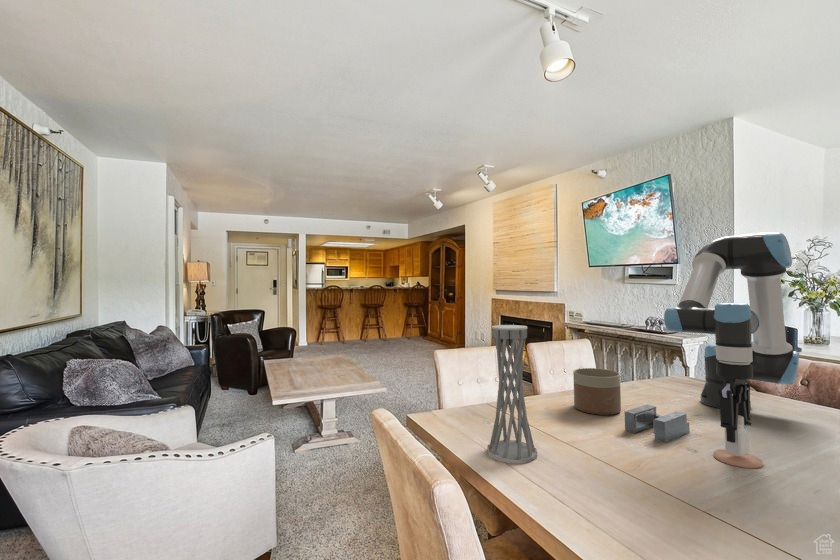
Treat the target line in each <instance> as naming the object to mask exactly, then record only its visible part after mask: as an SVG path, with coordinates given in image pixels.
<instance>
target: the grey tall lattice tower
mask: <svg viewBox="0 0 840 560" xmlns="http://www.w3.org/2000/svg"><path fill="white" fill-rule="evenodd" d="M491 337H492V338H493V340H494V343H495V349H496V358H497V369H498V390H497V399H496V410H495V411H496V412H495V418H494V423H493V428H492V432H491V438H490V443H489V444H488V445H487V454H488V456H489V457H491V458H493V460H495V461H499V462H502V463H506V464H513V465H514V464H518V465H519V464H520V465H521V464H529V463H530V462H532V461H534V460H537V458H538V451H537V447H535V445H534V441H533V437H532V432H531V428H530V424H529V419H528V415H527V408H526V402H525V401H526V400H525V394H524V386H523V385H524V384H523V370H524V369H523V365H524V363H523V362H524V359H523V357H524V351H525V343H526V339H527V338H528V326H527V325H517V324H498V325H492V326H491ZM509 339H510V340H511V343H509ZM517 340H518V343H517ZM506 351H507V354H508V357H507V355H506ZM513 354H514V355H513ZM513 356H514V357H513ZM513 358H514V359H513ZM510 367H511V368H510ZM514 382H515V383H514ZM511 393H512V400H511ZM508 408H509V420H508V425H507V420H506V419H507V418H506V415H507V414H506V413H507V410H508ZM515 408H516V411H517V423H516V418H515ZM507 426H508V427H507ZM512 428H513V433H514V437H515V440H514V439H513V440H512V439H511V435H512ZM522 432H523V434H522ZM501 435H502V436H503V439H502V440H500V439H501V437H502V436H501ZM522 435H524V436H522ZM522 437H524V441H525V442H522Z"/></svg>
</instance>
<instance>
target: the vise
mask: <svg viewBox="0 0 840 560" xmlns="http://www.w3.org/2000/svg"><path fill="white" fill-rule="evenodd" d="M687 420H688V419H687V413H684V412H681V411H676V410H675V411H672V412H670V413H667V414H664V415H661V414H658V413H657V407H656V406H655V405H652V404H643V405H641V406H638V407H635V408H631V409H628V410H625V411H624V431H626V432H628V433H632V434H637V433H639V432H642V431H644V430H648V429H650V428H653V434H654V440H655V441H658V442H662V443H669V442H670V441H673V440H675V439H677V438H680V437H682V436H684V435H687V434H689V433H690V422H689V421H687Z"/></svg>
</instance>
